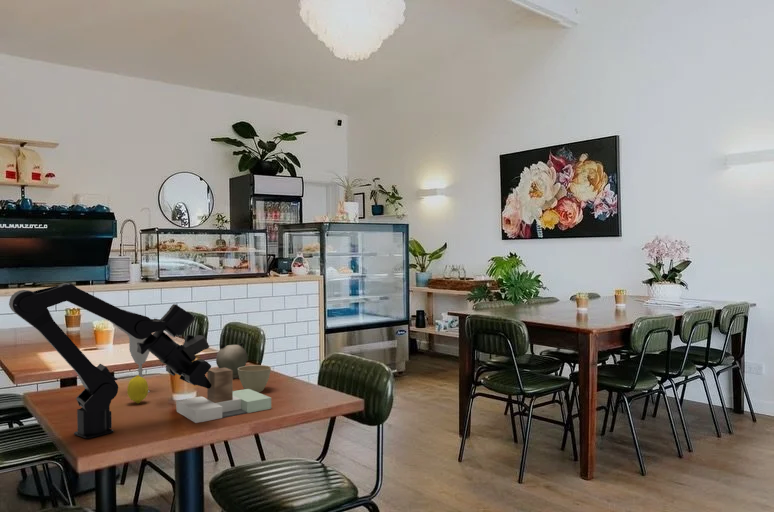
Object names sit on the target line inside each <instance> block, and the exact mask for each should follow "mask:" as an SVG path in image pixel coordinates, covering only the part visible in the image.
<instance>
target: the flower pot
mask: <svg viewBox="0 0 774 512" xmlns="http://www.w3.org/2000/svg"><path fill="white" fill-rule="evenodd" d="M271 370H272V367H271V366H269V365H264V364H263V365H262V364H253V365H252V364H251V365H245V366H243V367H239V368H238V375H239V378H238V379H239V381H240V383H241V386H242V387H243V390H244V389H251V390H253V391H256V392H258V393H261V392H263V391H264V389H265V388H266V386H267V384H268V382H269V378H270V375H271Z"/></svg>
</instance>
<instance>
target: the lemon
mask: <svg viewBox="0 0 774 512" xmlns="http://www.w3.org/2000/svg"><path fill="white" fill-rule="evenodd" d="M148 390H149V384H148V381H147V380H146V378H144V376H143V377H140V376H139V374H138V375H136V376H135V377H132V378H131V379H129V382H128V385H127V391H126V393H127V396H128V398H129V399H130V400H131V401H133V402H135V404H140V403H141V402H142V401H144V400H145V399H146V398H147V396H148V393H149V392H148Z"/></svg>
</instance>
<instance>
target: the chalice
mask: <svg viewBox="0 0 774 512" xmlns="http://www.w3.org/2000/svg"><path fill="white" fill-rule="evenodd" d="M127 336H128V340H129V341H128V342H129V345H128V346H129V353H130V356H131V357H132V360H133V361H134V363H135V364H137V365H138V369H137V372H138V375H139V376H140V377H143V378H144V375H143V372H144V369H143V365H144V364H145V363H146V361H147V359H148V357H149V355H150V353H151V352H150V351H148V350H147V351H146V352H145V353H144V354H140V353H138V352H137V348H138V346H137V343H138V342H143V341H144V340H145V339H146V338H145V339H137V338H134V337H131V336H129V335H127ZM150 391H151V390H149V389H148V393H150Z"/></svg>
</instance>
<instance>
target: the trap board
mask: <svg viewBox="0 0 774 512" xmlns="http://www.w3.org/2000/svg"><path fill="white" fill-rule="evenodd" d="M175 400H176V399H175ZM175 405H176V412H177V414H180V415H182V416H184V418H187V419H188V420H189V421H192V422H193V423H195V424H198V423H203V422H208V421H213V420H218V419H224V418H229V417H230V418H231V417H233V416H240V415H245V414H246V415H247V414H250V413H255V412H256V413H257V412H261V411H266V410H270V409H272V396H271V397H270V396H268V395H266V394H263V393H261V392H256V391H253V390H251V389H244V388H243V389H239V390H238V389H237V390H233V400H229V401H223V402H217V403H214V402H212V401H210V400H208V399H207V397H204V396H202V395H201V396H195V397H188V398H183V399H177V400H176V403H175Z"/></svg>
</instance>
